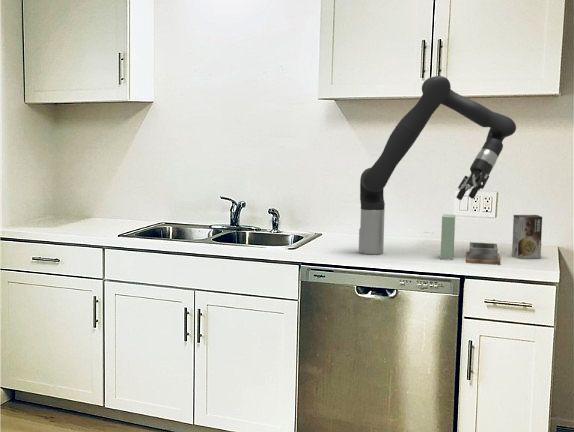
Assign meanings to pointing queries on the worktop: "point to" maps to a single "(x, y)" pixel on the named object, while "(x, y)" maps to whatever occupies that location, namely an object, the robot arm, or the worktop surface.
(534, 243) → the coffee box
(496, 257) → the gray frame wooden base
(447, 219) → the block
